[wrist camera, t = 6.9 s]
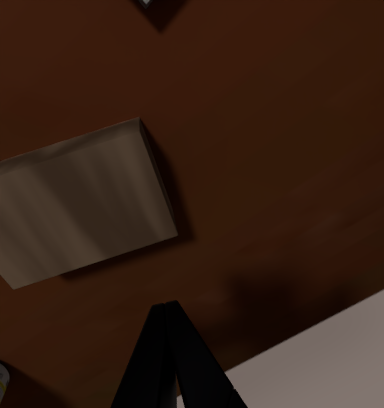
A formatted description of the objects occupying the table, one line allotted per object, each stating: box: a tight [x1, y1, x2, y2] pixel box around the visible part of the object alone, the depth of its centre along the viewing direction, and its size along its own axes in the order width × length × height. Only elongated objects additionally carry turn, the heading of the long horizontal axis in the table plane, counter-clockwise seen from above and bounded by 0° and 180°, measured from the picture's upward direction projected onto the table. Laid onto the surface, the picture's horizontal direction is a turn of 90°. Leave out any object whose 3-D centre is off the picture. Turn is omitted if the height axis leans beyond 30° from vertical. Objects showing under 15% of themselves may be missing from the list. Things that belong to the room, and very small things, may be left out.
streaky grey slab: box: [0, 117, 178, 289], centre depth 17 cm, size 4×7×11 cm
